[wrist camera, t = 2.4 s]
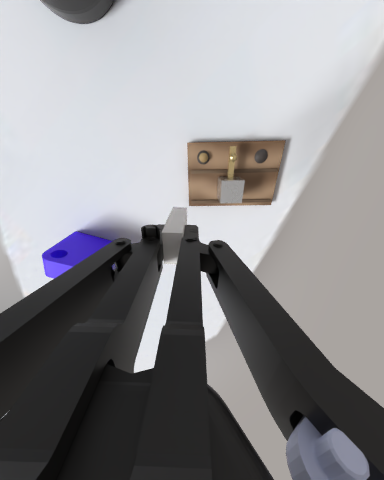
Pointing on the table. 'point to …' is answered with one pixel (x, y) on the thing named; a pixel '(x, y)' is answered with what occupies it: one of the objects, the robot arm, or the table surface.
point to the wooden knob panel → (246, 167)
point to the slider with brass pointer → (230, 182)
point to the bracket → (70, 252)
